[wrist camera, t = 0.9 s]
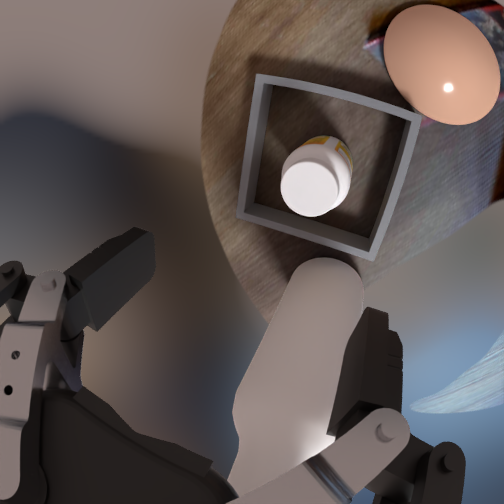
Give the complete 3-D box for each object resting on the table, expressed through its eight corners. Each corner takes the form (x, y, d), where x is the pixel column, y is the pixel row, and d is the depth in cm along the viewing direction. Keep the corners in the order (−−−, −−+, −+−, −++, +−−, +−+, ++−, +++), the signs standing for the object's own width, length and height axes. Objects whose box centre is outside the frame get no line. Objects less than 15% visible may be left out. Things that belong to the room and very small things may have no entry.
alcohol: (357, 247, 30) (268, 578, 6) (368, 311, 33) (307, 574, 9) (282, 259, 34) (129, 516, 10) (301, 316, 37) (200, 543, 13)
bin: (416, 114, 21) (422, 116, 19) (373, 247, 29) (373, 261, 27) (266, 75, 24) (256, 73, 22) (246, 207, 32) (235, 217, 30)
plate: (502, 39, 13) (505, 38, 12) (484, 143, 19) (487, 145, 19) (390, -10, 15) (391, -12, 15) (373, 97, 22) (373, 97, 21)
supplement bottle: (291, 174, 29) (260, 206, 21) (310, 126, 26) (284, 137, 18) (340, 196, 28) (328, 239, 20) (361, 149, 25) (361, 172, 17)
